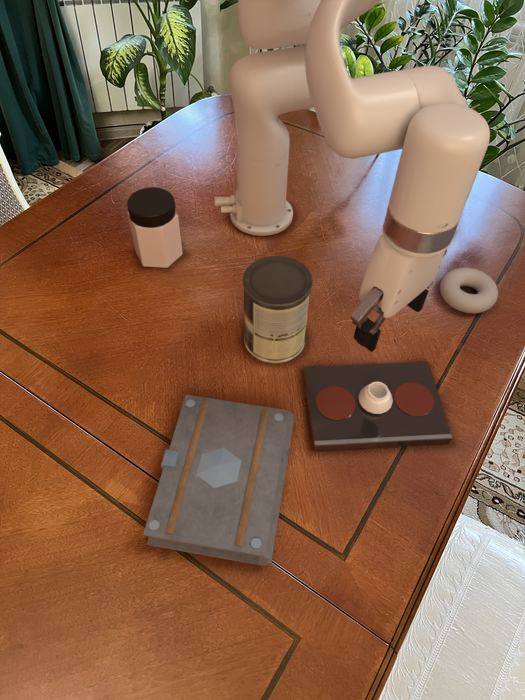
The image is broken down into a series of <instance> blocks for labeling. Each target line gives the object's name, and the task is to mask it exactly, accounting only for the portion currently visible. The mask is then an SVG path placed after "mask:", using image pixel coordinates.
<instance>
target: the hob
mask: <svg viewBox="0 0 525 700" xmlns="http://www.w3.org/2000/svg"><path fill="white" fill-rule="evenodd" d="M302 373H303V383H304V388H305V396H306V402H307V410H308V417H309V418H308V419H309V425H310V432H311V439H312V447H313V451H314V452H320V451H337V450H355V449H356V450H359V449H375V448H377V449H378V448H393V447H394V448H395V447H411V446H412V447H413V446H414V447H415V446H430V445H434V446H435V445H449V444H450V443H451V442H452V439H453V434H452V433H451V431H450V428H449V424H448V421H447V417H446V415H445V414H446V413H445V411H444V408H443V404H442V402H441V398H440V395H439V391H438V388H437V386H436V382H435V379H434V375H433V373H432V369H431V366H430V362H429V361H411V362H410V361H409V362H408V361H407V362H388V363H386V362H385V363H384V362H383V363H366V364H365V363H363V364H362V363H361V364H343V365H340V364H339V365H322V366H321V365H320V366H317V365H316V366H303V371H302ZM373 382H381V383H383V384H385V385H386V386H387V387H388V389H389V391H390V393H391V395H392V399H393V402H392V406H391V408H390V409H389V410H388V411H387V412H384V413H382V414H373V413H371V412H368V411H366V410H365V409H364V408H362V406H361V404H360V403H359V394H360V391H361V390H362V389H363V388H364V387H365V386H367V385H369V384H371V383H373Z"/></svg>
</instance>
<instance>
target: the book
mask: <svg viewBox="0 0 525 700" xmlns="http://www.w3.org/2000/svg"><path fill="white" fill-rule="evenodd" d="M295 417H296V416H295V415H294V414H293V413H292V412H291V411H290V410H288V409H282V408H277V407H269V406H262V405H256V404H249V403H244V402H243V403H242V402H237V401H230V400H224V399H217V398H210V397H204V396H197V395H192V394H185V396H184V399H183V402H182V406H181V408H180V413H179V416H178V418H177V422H176V425H175V429H174V432H173V435H172V439H171V441H170V445H169V448H168V449H165V450H164V453H163V457H162V459H161V463H160V468H161V476H160V478H159V481H158V485H157V488H156V491H155V494H154V498H153V501H152V504H151V507H150V511H149V513H148V514H149V515H148V518H147V521H146V524H145V527H144V530H143V533H142V535H143V536H144V537H148V538H147V541H146V545H147V546H150V547H151V546H152V547H157V548H160V549H161V548H163V549H169V550H173V551H178V552H185V553H189V554H196V555H202V556H206V557H212V558H217V559H223V560H228V561H232V562H233V561H234V562H238V563H239V562H240V563H243V564H244V563H246V564H250V565H257V566H262V567H265V566H266V567H267V566H268V565H271V564H272V563H273V556H274V550H275V543H276V536H277V530H278V525H279V524H278V523H279V518H280V512H281V506H282V500H283V493H284V487H285V481H286V474H287V467H288V462H289V456H290V449H291V444H292V443H291V442H292V436H293V429H294V424H295Z"/></svg>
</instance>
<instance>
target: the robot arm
mask: <svg viewBox="0 0 525 700" xmlns="http://www.w3.org/2000/svg"><path fill="white" fill-rule="evenodd" d="M380 2H382V0H237V13H238V16H237V17H238V29H239V33H240V36H241V38H242V41H243V42H244V43H245V44H246V46H247V47H249V48H252V49H254V50H260V51H258V52H253V53H250V54H247V55H244V56H242V57H240V58H238V59H237V60H236V61H235V62H234V64H233V65H232V66H231V68H230V71H229V76H228V77H229V78H228V79H229V80H228V82H229V91H230V96H231V101H232V106H233V113H234V121H235V138H236V139H235V140H236V142H235V143H236V145H235V147H236V187H237V188H236V189H235V191H234V194H230V196H224V195H223V196H214V197H213V199H214V207H217V208H219V207H220V213H221V214H229V217H230V221H231V223H232V224H233V226H234V227H235V228H237V229H238V230H239V231H241V232H242V233H245V234H248V235H251V236H258V237H267V236H273V235H276V234H279V233H282V232H283V231H285V230H286V229H287V228H289V227H290V225H291V224H292V222H293V218H294V209H293V206H292V205H291V203H290V202H289V201H288V200H287V191H288V176H289V175H288V174H289V162H290V161H289V159H290V147H291V146H290V142H291V140H290V133H289V130H288V128H287V126H286V125H285V123H284V122H283V121H282V120H281V118H280V117H279V116H281V115H283V114H289V113H292V112H295V111H301V110H307V109H314V112H315V115H316V119H317V121H318V125H319V127H320V130H321V133H322V135H323V138H324V140H325V141H326V143H327V145H328V147H329V148H330V149H331V150H332V151H333V152H334V153H335V154H336V155H337V156H339V157H341V158H344V159H360V158H367V157H371V156H376V155H381V154H385V153H389V152H394V151H398V150H401V153H400V157H399V161H398V165H397V169H396V173H395V177H394V180H393V185H392V187H391V188H392V189H391V194H390V197H389V200H388V205H387V209H386V213H385V216H384V221H383V223H382V235H380V237H379V239H378V240H377V242H376V244H375V246H374V249H372V250H373V251H372V253H371V255H370V257H369V260H368V263H367V265H366V268H365V272H364V274H363V277H362V281H361V285H360V287H359V291H358V300H359V301H360V302H361V303H360V304H359V305H357V307H356V309H354V311H353V312H352V313H351V314H350V319H351V321H352V324H353V325H355V329H354V333H353V339H354V340H355V341H356V342H357V344H359V345H360V346H361V347H364V348H365V349H366V350H368V351H369V352H370V353H373V352H374V351H375V350H376V348H377V346H378V345H377V344H378V342H379V338H380V336H381V332H382V330H381V329H380V328H381V326H382V325H383V323H384V321H385V320H386V319H387V318H391V317H392V318H393V317H394V316H395V315H396V314H398V313H399V312H400V311H401V310H403V309H404V308H405V307H406V306H407V307H408V308H410V309H411V310H413V311H414V312H415V313H419V312H421V311H422V310H423V307H424V305H425V303H426V300H427V297H428V294H429V292H430V290H429V289H430V288H431V287H432V286H433V284H434V280H435V279H436V277H437V275H438V273H439V270H440V268H441V265H442V262H443V259H444V258H445V256H446V255H447V252H448V249H449V248H450V246H451V243H452V240H453V238H454V236H455V233H456V230H457V228H458V225H459V223H460V220H461V218H462V215H463V212H464V210H465V207H466V204H467V201H468V199H469V196H470V194H471V191H472V189H473V186H474V184H475V181H476V178H477V177H478V173H479V170H480V168H481V166H482V163H483V161H484V157H485V155H486V152H487V150H488V147H489V145H490V139H491V130H490V126H489V123H488V122H487V120H486V119H485V118H484V117H483V115H481V114H480V113H479V112H478V111H476V110H474V109H473V108H470V107H469V105H468V104H467V102H466V100H465V98H464V97H463V96H464V95H463V94H462V93H461V92H462V91H461V90H460V88H459V86H458V84H457V83H456V80H455V79H454V77H453V76H452V75H451V74H450V72H449V71H448V70H447V69H446V68H443V67H441V66H436V65H423V66H417V67H411V68H405V69H397V70H392V71H386V72H381V73H374V74H369V75H363V76H357V77H354V78H353V77H352V78H351V76H350V74H349V71H348V69H347V66H346V64H345V63H346V62H345V59H344V56H343V53H342V47H341V41H342V33H343V29H345V28H346V27H347V26H348V25H350V24H351V23H352V22H354V21H355V20H357V19H358V18H360V17H361V16H362V15H364V14H365V13H367V12H369V11H370V10H371V9H373V8H374V7H376V6H377V5H378V4H379V3H380ZM261 50H266V51H261ZM379 303H380V305H379ZM372 311H374V312H376V313H377V314H378V316H377V317H376V319H375V321H373V320H372V319H370V318H369V317H368V316H369V315H370V314H371V313H372Z"/></svg>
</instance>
